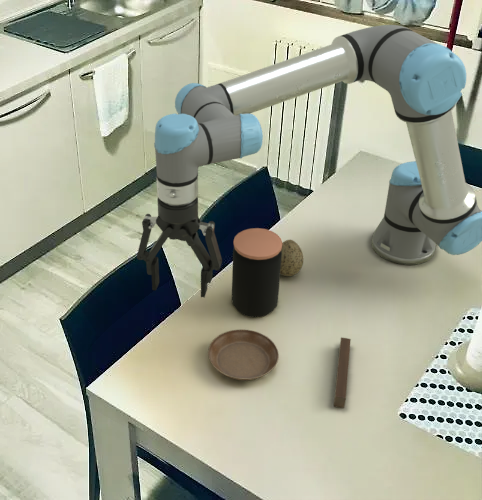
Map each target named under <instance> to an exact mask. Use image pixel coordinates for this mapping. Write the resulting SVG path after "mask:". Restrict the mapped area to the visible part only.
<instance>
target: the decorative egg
mask: <svg viewBox="0 0 482 500" xmlns="http://www.w3.org/2000/svg"><path fill="white" fill-rule="evenodd" d="M282 243H283V244H282V249H281V251H282V258H281V270H280V275H282V276H285V277H293V276H295V275H297V274H298V273H299V272H300V271H301V269H302V268H303V265H304V259H305V258H304V253H303V251H302V248H301V247H300V245H299V244H298V242H296V241H295V240H293V239H287V240H284V241H282Z"/></svg>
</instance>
